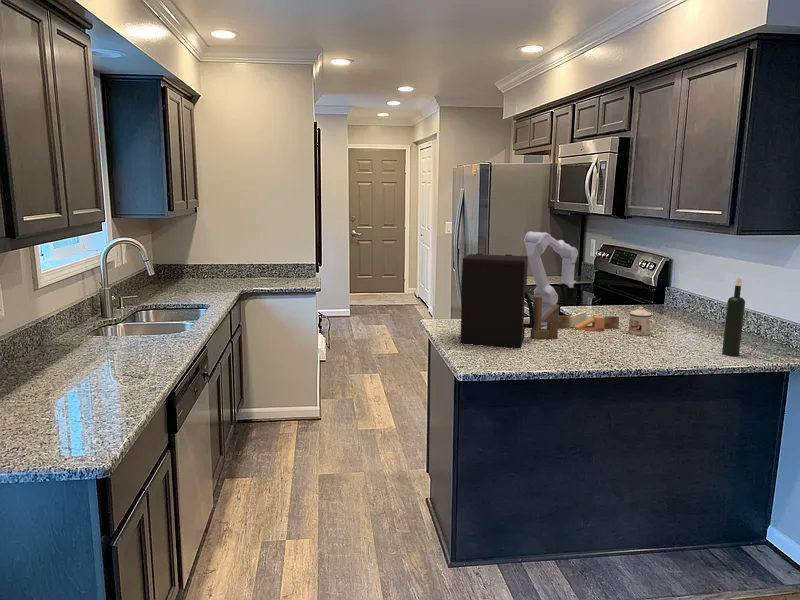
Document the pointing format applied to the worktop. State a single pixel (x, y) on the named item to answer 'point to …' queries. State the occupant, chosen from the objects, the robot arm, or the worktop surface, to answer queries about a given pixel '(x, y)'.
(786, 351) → the worktop surface
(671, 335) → the worktop surface
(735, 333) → the wine bottle
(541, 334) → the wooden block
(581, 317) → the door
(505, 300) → the black upright box
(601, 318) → the wedge
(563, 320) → the brown rectangular block
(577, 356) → the worktop surface
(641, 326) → the teacup with lid
